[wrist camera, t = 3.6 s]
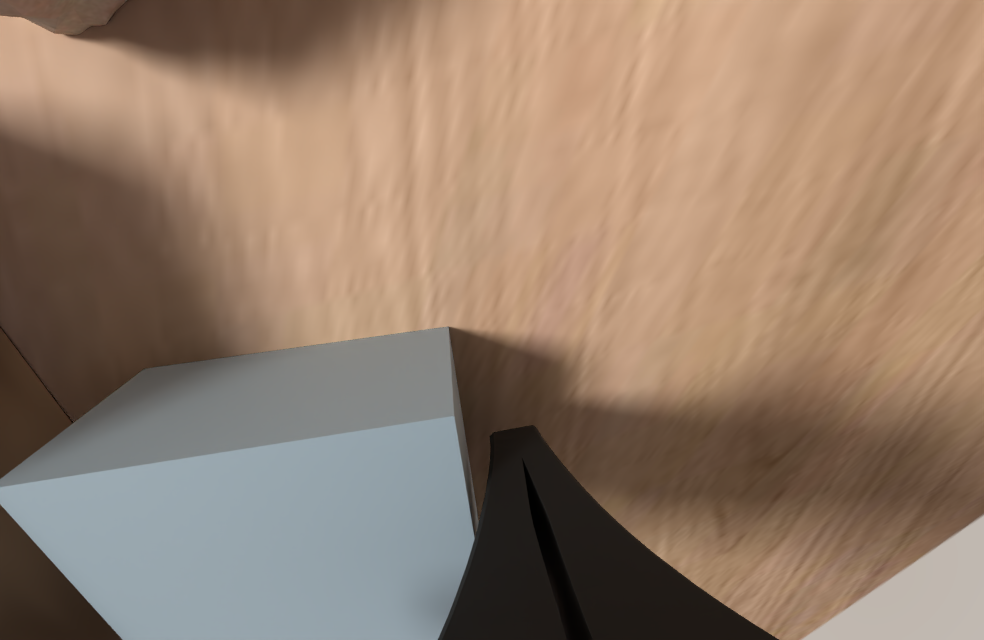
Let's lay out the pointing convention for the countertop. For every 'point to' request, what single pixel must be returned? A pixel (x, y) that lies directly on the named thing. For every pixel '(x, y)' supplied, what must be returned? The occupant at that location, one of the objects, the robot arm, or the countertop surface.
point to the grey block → (265, 495)
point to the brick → (62, 13)
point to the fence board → (7, 547)
